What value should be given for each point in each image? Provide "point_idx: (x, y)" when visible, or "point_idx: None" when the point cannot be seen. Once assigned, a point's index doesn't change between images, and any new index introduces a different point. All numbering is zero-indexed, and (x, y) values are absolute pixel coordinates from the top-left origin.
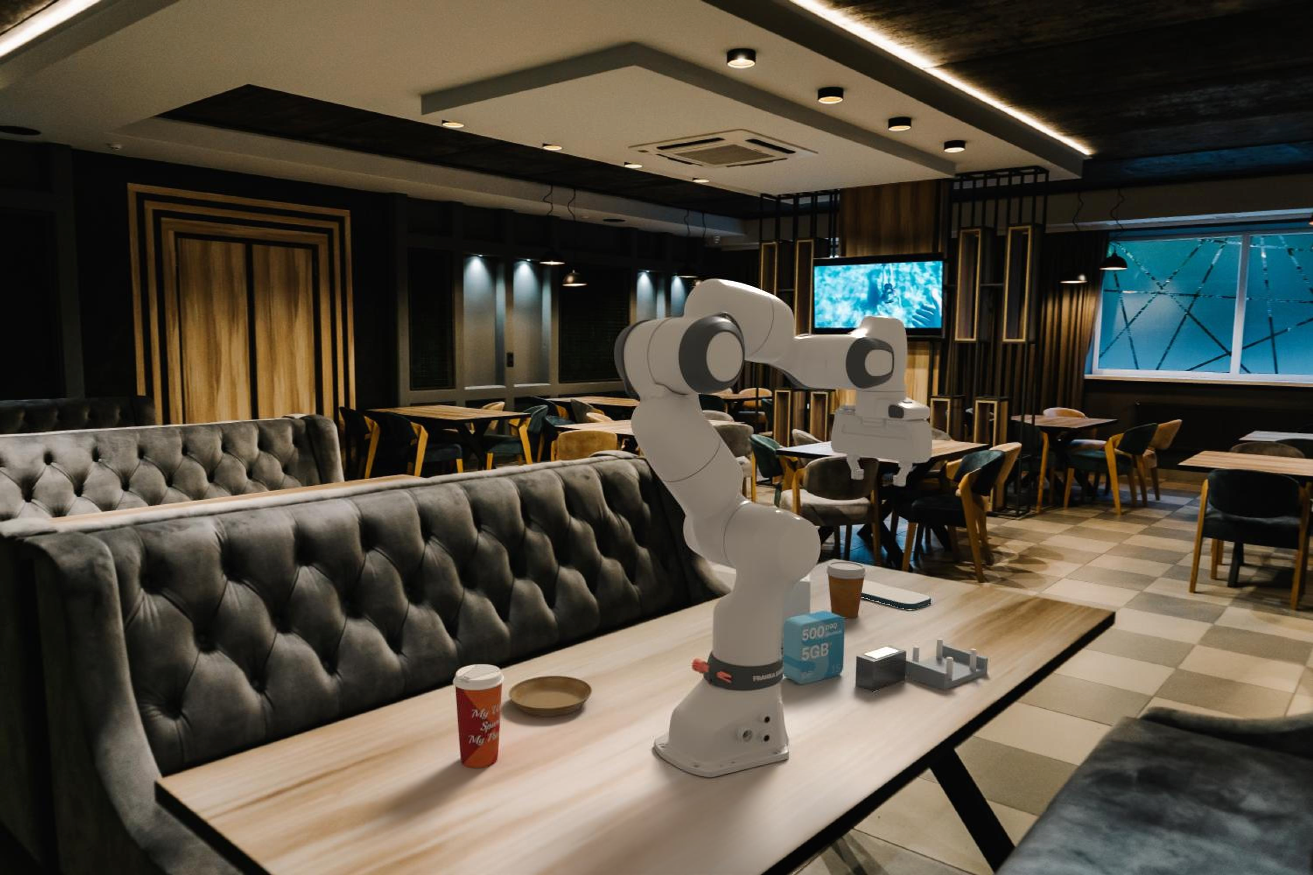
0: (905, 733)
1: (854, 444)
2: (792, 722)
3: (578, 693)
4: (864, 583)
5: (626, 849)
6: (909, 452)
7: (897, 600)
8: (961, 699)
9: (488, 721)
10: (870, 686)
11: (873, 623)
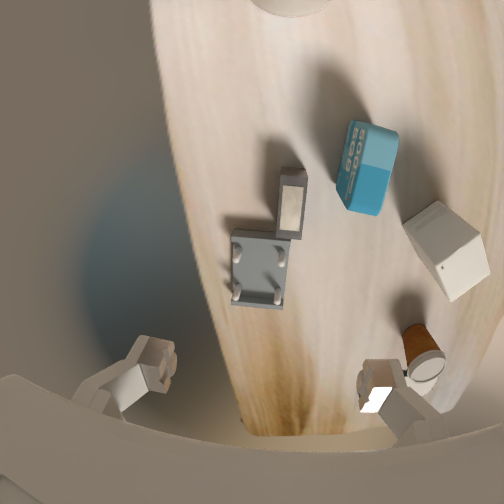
0: (193, 105)
1: (410, 499)
2: (285, 37)
3: None
4: (419, 390)
5: None
6: (9, 412)
7: None
8: (209, 220)
9: None
10: (283, 168)
11: (382, 332)
